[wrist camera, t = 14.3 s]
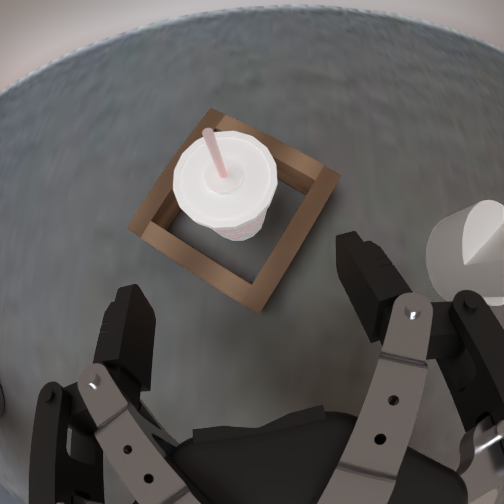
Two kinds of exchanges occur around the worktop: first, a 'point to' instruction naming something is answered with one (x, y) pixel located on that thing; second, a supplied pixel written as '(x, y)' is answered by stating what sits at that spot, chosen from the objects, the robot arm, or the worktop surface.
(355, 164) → the worktop surface
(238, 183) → the beverage cup
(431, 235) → the cylinder with rectangular tab
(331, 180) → the walnut collar
